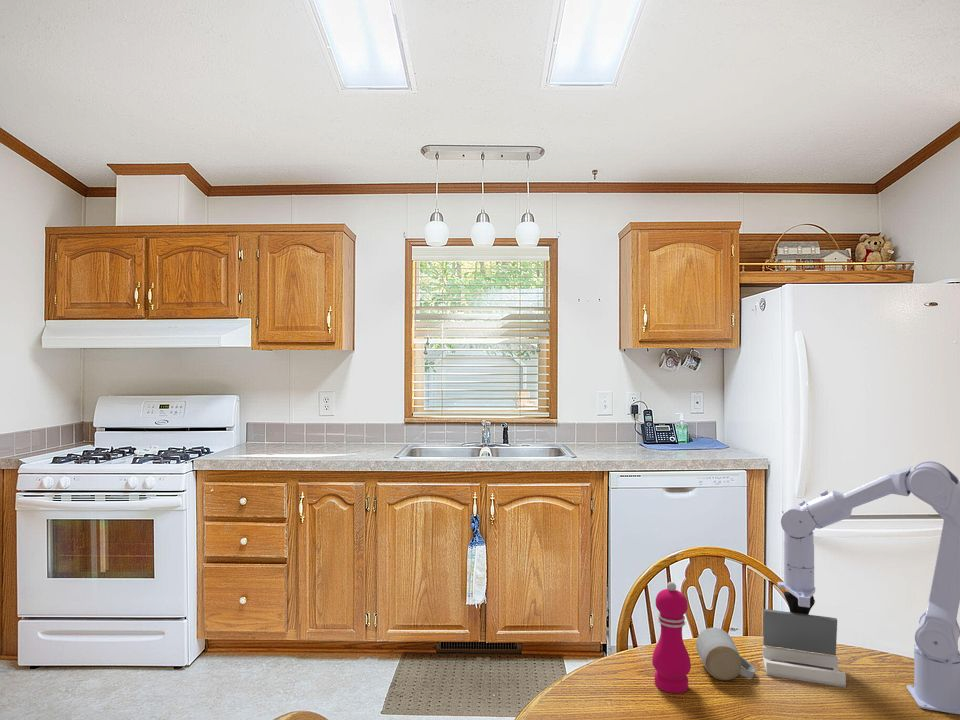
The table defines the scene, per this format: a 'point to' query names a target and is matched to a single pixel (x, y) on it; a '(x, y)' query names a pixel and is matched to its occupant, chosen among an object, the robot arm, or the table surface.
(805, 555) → the robot arm
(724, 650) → the ceramic mug
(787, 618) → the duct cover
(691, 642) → the table surface
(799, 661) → the cable duct
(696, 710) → the table surface
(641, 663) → the table surface
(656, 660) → the pepper mill
